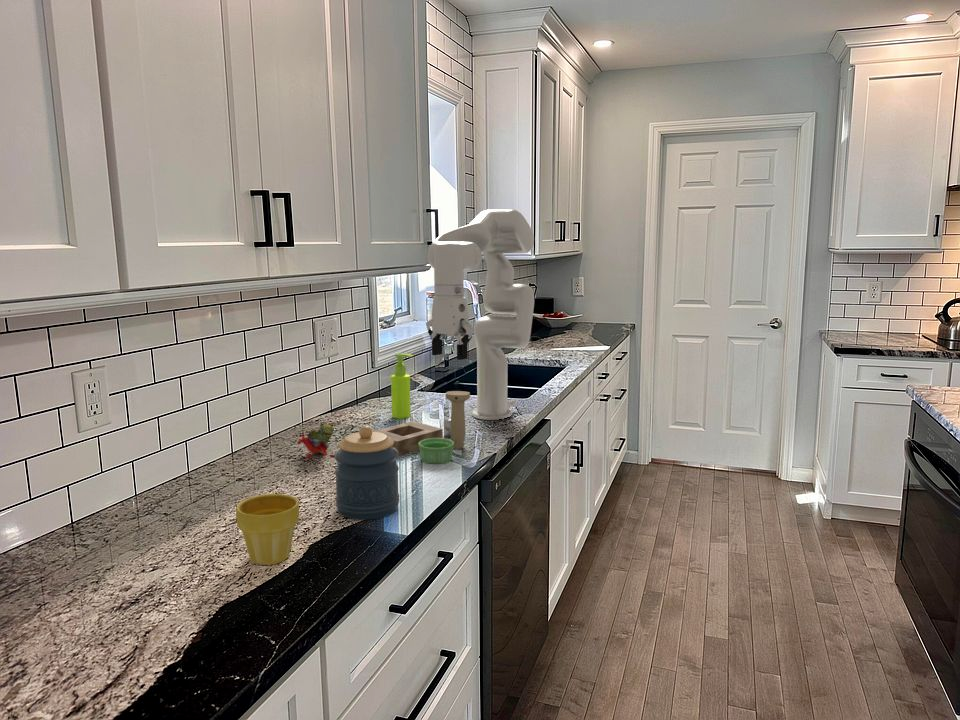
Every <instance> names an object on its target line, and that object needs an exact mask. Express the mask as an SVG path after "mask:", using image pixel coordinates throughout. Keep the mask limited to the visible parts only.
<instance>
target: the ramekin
mask: <svg viewBox="0 0 960 720" xmlns="http://www.w3.org/2000/svg"><path fill="white" fill-rule="evenodd" d="M418 445H419V448H420V450H419V457H420V458H419V459H420V460H421V461H422V462H423V463H426V464H431V465H432V464H433V465H440V464H445V463H448V462H451V461H452V459H453V451H454V448H453V446H454V442H453V441H452V440H451V439H449V438H444V437H443V438H429V439H424V440H422V441H420V442H419V444H418Z"/></svg>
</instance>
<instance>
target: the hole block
mask: <svg viewBox="0 0 960 720" xmlns="http://www.w3.org/2000/svg"><path fill="white" fill-rule="evenodd" d="M372 432H380V433H383V434H385V435H387V436H388V437H390V438H392V439H393V440H394V444H393V446H392V447H394V448H395V449H397V450H398V456H397V457H400V455H401V456H403V455H407V454H410V453H415V452H417V451H420V448H419V445H418V444H419V442H420V441H422V440H424V439H429V438H444V428H440V427H436V426H433V425H429V424H426V423H422V422H419V421H415V420H411V421H408V422H404V423H401V424H397V425H392V426H388V427H385V428H380V429H376V430H372Z"/></svg>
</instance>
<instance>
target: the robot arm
mask: <svg viewBox="0 0 960 720" xmlns="http://www.w3.org/2000/svg"><path fill="white" fill-rule="evenodd" d="M534 242H535V236H534V233H533V230H532V227H531V226H530V224H529V223H528V221H527V219H526V217H524V215H523V214H522V213H521V211H518V210H516V209H513V208H511V209H509V208H508V209H507V208H506V209H486V210H483V211H480V213H479V214H477V215H476V216H475V218H473V220H471V221H470V222H469V224H467V225H464V226H460V227H458V228H454V229H452V230H449V231H447V232H444V233H442V234H440V235H439V236H438V237H436V239H434V241H433V242H432V243H431V245H430V246H429V249H428V252H427V260H428V263H429V266H430V267H431V268H433V269H434V270H433V271H434V272H433V273H434V275H433V281H434V282H433V284H434V291H433V292H434V294H433V295H434V296H433V299H432V307H431V319H429V320H428V321H427V322H425V326H426V329H427V333H428V335H429V338H430V340H431V355H432V356H439V355H440V356H441V355H443V339H442V336H447V337H455V340H456V341H457V343H458V344H456V359H457V361H461V360H462V361H464V360H467V359H468V348H469V347H468V344H470V342H471V340H472V339H473V334H474V339H475V346H476V360H477V361H476V363H477V364H476V366H477V367H476V369H477V370H476V375H477V376H476V382H477V385H476V391H477V392H476V393H477V394H476V396H477V397H476V399H477V400H476V401H477V402H476V405H477V407H476V408H475V409H474V410H472V413H471V414H472V415H471V416H473V418H475V419H479V420H483V421H485V420H486V421H500V420H499V419H502V420H505V419H504V418H507V417H509V416H511V415H512V416H513V411H512V410H510V407H514V406H516V405H517V401H516V399H511V400H509V399H508V367H509V366H508V364H509V363H508V359H507V357H506V354H505V353H504V350H502V348H507V349H524V348H525V347H527V346H528V345H529V343H530V340H531V333H532V325H533V317H534V308H535V293H534V290H533V288H532V287H531V286H530V285H528V284H526V283H514V277H515V269H514V266H513V265H512V263H511V262H510V260H509V259H508V258H507V256H506V255H505V254H527V253H529V252H531V251H532V249H533V247H534V244H535V243H534ZM483 257H484V261H485V264H486V268H487V269H486V270H487V271H486V272H487V273H486V280H485V285H484V287H485V288H484V294H483V307H484V310H485V311H486V312H488V313H490V314H491V313H492V314H501V315H502V314H503V315H515V316H516V317H515V316H501V315H500V316H499V315H486V316H483V317H480V318H478V319H477V320H476V321H475V322H474V326H472V324H470V322H469V321H470V319H469V308H468V303H467V302H468V301H467V298H466V297H465V296H464V293H465V291H466V290H465V288H464V287H465V286H464V271H474V270H475V269H477V268H479V266H480V265H481V263H482V260H483ZM512 416H511V417H512ZM507 419H508V418H507Z"/></svg>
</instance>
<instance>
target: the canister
mask: <svg viewBox="0 0 960 720" xmlns="http://www.w3.org/2000/svg"><path fill="white" fill-rule="evenodd" d="M372 431H373V430H372V428H371V426H369V425H363V426H362V427H361V428H359V432H354V433H350V434H348V435H346V436H345V437H344V438H343V439H341V440H340V441H338V443H337V447H338V448H339V449H338V450H337V451H336V452H335V453H334V454H333V455H334V457H333V459H334V460H335V461H336V468H335V469H334V474H335V490H336V497H335V505H336V509H337V513H338V514H339V515H341V516H342V517H345V518H348V519H349V520H350V519H353V520H361V521H362V520H363V521H367V520H376V519H380V518H384V517H387V516H389V515H392V514H394V513H395V512H396V511H398V508H399V503H400V493H399V469H400V468H399V465H398V464H397V457H399V456H398V450H397V449H395V448H394V447H392V446H393V444H394V440H393V439H392V438H390V437H388V436H387V435H385V434H383V433H380V432H372Z"/></svg>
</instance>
